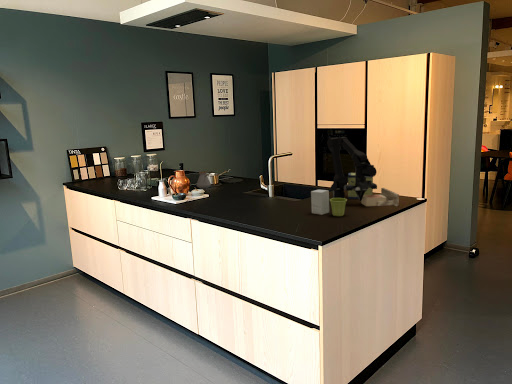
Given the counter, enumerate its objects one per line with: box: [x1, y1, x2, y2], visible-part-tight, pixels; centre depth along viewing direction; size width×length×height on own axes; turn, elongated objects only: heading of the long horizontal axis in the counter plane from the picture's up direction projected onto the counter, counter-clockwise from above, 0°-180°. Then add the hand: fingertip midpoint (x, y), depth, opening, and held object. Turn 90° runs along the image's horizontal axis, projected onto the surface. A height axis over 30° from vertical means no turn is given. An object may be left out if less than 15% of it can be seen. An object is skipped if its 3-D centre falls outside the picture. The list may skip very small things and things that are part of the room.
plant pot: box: [329, 197, 348, 217], centre depth 228 cm, size 9×9×9 cm
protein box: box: [347, 172, 374, 200], centre depth 271 cm, size 10×16×16 cm
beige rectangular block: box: [360, 194, 386, 207], centre depth 251 cm, size 12×9×5 cm
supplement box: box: [310, 189, 330, 216], centre depth 235 cm, size 7×7×13 cm
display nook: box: [376, 187, 400, 207], centre depth 253 cm, size 11×22×7 cm, turn 6°
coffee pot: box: [196, 170, 214, 190], centre depth 331 cm, size 21×12×15 cm, turn 38°
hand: (360, 200), depth 252 cm, fingers closed
